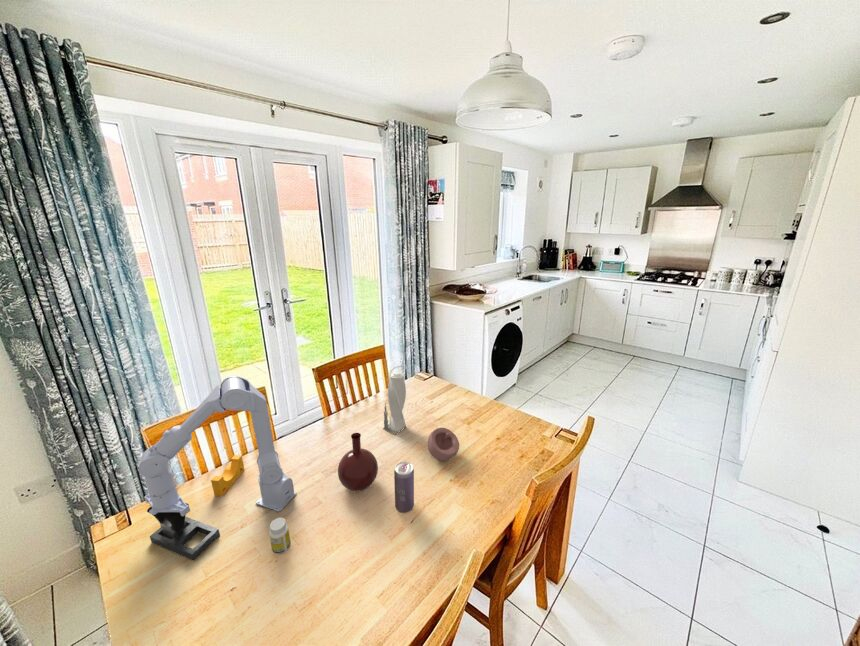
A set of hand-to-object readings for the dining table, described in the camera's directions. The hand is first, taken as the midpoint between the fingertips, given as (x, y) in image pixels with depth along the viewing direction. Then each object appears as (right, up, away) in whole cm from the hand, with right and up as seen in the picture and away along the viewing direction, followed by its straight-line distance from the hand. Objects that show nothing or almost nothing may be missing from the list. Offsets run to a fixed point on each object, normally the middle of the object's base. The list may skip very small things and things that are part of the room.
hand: (173, 526), depth 98 cm
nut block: (0, -3, +1) cm, 3 cm away
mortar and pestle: (+78, +6, +34) cm, 85 cm away
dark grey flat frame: (+4, -3, 0) cm, 5 cm away
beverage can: (+65, -1, +12) cm, 66 cm away
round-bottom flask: (+49, +2, +20) cm, 53 cm away
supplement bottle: (+32, -5, -2) cm, 32 cm away
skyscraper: (+59, +12, +51) cm, 78 cm away
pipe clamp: (+4, +3, +20) cm, 21 cm away
